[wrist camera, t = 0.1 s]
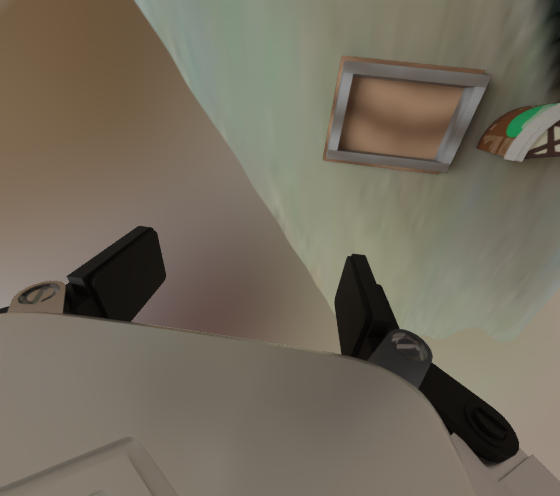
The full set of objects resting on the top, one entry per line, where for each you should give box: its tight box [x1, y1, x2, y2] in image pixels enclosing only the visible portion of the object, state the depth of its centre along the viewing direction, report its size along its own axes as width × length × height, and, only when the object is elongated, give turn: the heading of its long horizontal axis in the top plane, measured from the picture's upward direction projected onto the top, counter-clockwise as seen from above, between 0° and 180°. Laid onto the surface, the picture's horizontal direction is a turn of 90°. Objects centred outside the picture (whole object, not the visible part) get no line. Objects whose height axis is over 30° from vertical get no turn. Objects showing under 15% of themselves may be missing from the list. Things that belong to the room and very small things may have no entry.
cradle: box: [323, 56, 491, 174], centre depth 32 cm, size 13×18×4 cm
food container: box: [477, 103, 560, 162], centre depth 28 cm, size 12×6×10 cm, turn 95°
